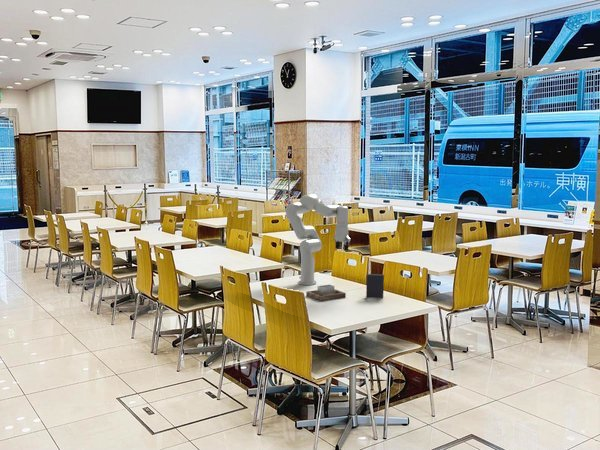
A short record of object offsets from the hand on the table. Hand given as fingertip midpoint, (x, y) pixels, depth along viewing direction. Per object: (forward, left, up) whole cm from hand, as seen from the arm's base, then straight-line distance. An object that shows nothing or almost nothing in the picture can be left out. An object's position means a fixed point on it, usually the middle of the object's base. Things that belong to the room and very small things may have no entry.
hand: (341, 249), depth 394 cm
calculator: (+26, +8, -28) cm, 39 cm away
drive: (+9, -19, -27) cm, 34 cm away
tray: (+9, -19, -28) cm, 35 cm away
